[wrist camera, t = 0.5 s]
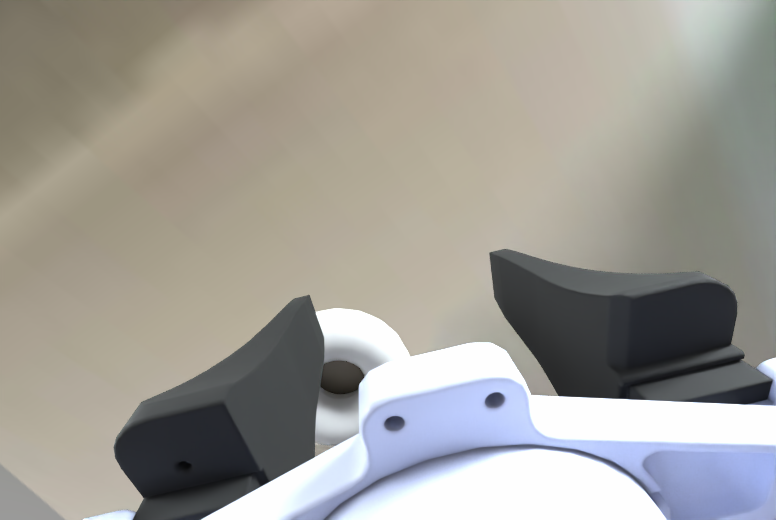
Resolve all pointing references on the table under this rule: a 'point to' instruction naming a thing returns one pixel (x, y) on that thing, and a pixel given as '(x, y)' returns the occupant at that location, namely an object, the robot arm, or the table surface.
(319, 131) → the table surface
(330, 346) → the donut
